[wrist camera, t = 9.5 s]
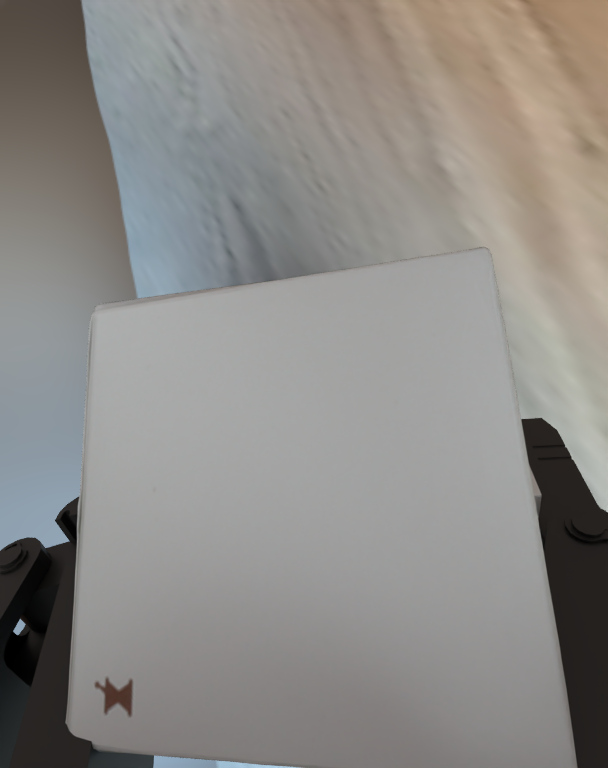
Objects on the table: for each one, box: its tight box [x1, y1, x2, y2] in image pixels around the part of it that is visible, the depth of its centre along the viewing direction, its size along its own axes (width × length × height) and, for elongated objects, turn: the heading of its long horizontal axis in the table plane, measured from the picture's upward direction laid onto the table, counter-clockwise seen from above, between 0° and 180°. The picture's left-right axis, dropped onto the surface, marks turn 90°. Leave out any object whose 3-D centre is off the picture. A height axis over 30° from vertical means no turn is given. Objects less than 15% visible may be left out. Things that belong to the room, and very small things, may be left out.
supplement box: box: [65, 247, 577, 768], centre depth 12 cm, size 7×7×13 cm
